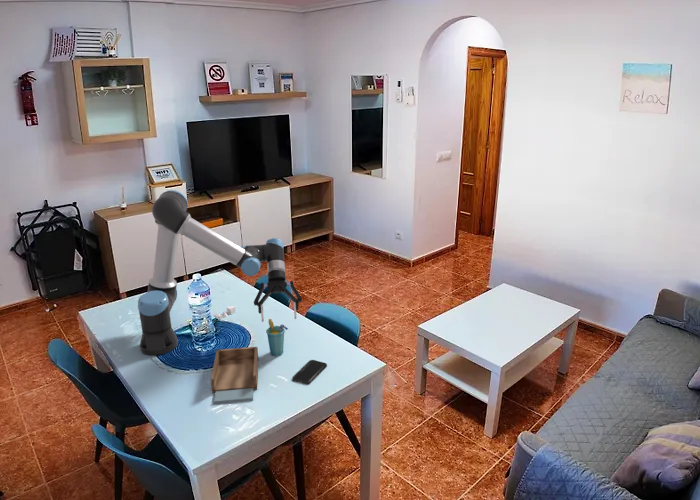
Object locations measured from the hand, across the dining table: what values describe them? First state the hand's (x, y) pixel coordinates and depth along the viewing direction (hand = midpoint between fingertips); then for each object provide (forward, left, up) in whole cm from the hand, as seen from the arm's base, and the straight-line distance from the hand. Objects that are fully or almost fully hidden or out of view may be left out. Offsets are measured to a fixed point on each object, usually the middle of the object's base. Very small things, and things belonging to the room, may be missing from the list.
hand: (279, 319), depth 212 cm
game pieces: (-26, +34, -14) cm, 45 cm away
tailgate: (-17, -30, -13) cm, 37 cm away
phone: (+11, -21, -14) cm, 28 cm away
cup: (-1, -5, -13) cm, 14 cm away
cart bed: (-17, -19, -13) cm, 29 cm away
